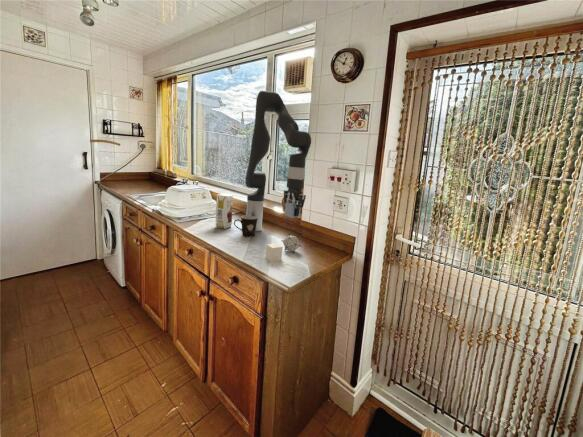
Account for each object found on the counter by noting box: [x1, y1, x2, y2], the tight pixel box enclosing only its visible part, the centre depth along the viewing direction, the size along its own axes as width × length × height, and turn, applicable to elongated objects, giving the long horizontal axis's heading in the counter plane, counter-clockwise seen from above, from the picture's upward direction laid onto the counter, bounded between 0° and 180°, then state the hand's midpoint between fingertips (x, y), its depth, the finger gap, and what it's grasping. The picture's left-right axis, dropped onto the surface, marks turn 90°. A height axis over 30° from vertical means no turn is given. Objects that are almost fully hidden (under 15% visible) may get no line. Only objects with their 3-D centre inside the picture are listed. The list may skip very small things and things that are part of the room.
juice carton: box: [215, 192, 234, 230], centre depth 170 cm, size 8×9×19 cm
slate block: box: [284, 202, 302, 219], centre depth 136 cm, size 5×5×6 cm
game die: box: [280, 233, 302, 254], centre depth 139 cm, size 9×8×10 cm
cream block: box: [265, 243, 283, 263], centre depth 128 cm, size 5×5×6 cm
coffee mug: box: [233, 215, 258, 238], centre depth 159 cm, size 12×9×10 cm
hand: (292, 214), depth 136 cm, fingers closed on slate block, 5 cm apart
